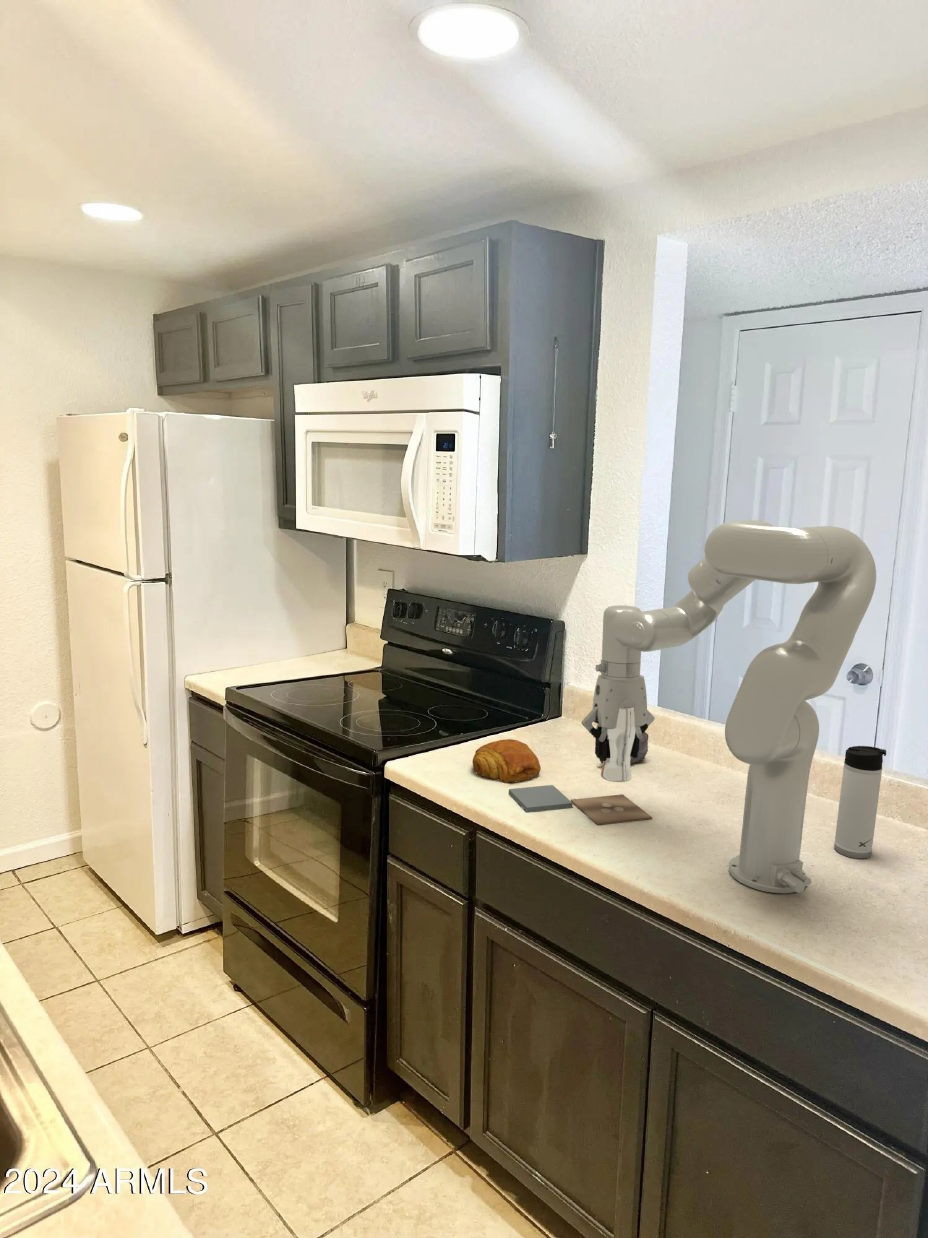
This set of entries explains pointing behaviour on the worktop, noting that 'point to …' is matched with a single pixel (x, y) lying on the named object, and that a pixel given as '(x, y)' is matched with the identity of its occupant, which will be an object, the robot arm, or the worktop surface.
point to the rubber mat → (540, 798)
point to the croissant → (506, 761)
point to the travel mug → (858, 801)
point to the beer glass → (620, 747)
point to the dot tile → (610, 809)
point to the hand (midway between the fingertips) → (616, 756)
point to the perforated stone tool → (640, 749)
